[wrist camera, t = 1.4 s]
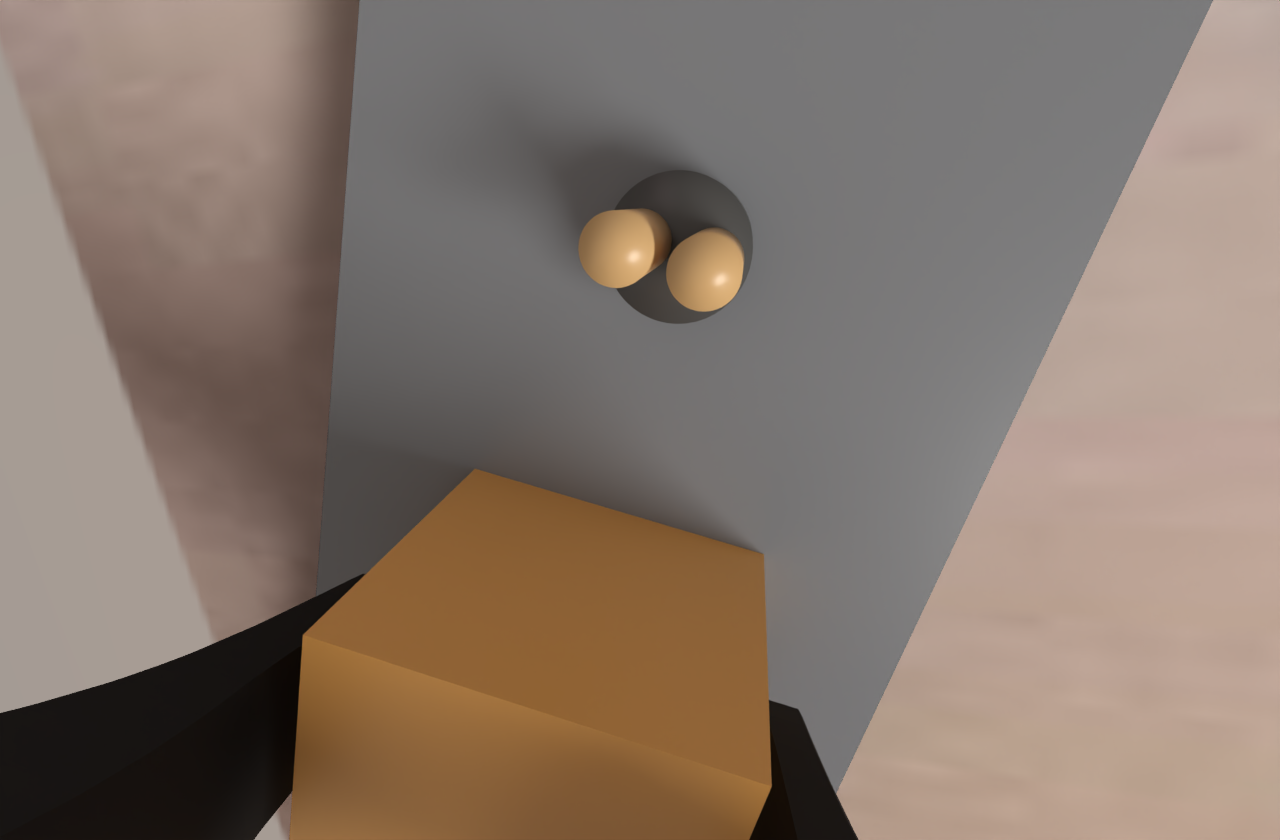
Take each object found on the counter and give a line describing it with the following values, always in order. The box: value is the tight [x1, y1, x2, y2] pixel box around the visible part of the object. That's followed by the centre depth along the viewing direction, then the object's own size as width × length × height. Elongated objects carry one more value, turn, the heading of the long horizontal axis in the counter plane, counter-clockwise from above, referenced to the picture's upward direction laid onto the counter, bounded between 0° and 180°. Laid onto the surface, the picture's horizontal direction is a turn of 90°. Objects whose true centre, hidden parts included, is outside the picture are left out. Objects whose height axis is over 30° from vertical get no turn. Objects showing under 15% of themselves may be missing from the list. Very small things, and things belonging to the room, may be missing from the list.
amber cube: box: [289, 469, 772, 840], centre depth 11 cm, size 6×6×5 cm
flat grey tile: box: [316, 0, 1213, 793], centre depth 12 cm, size 18×12×5 cm, turn 166°
